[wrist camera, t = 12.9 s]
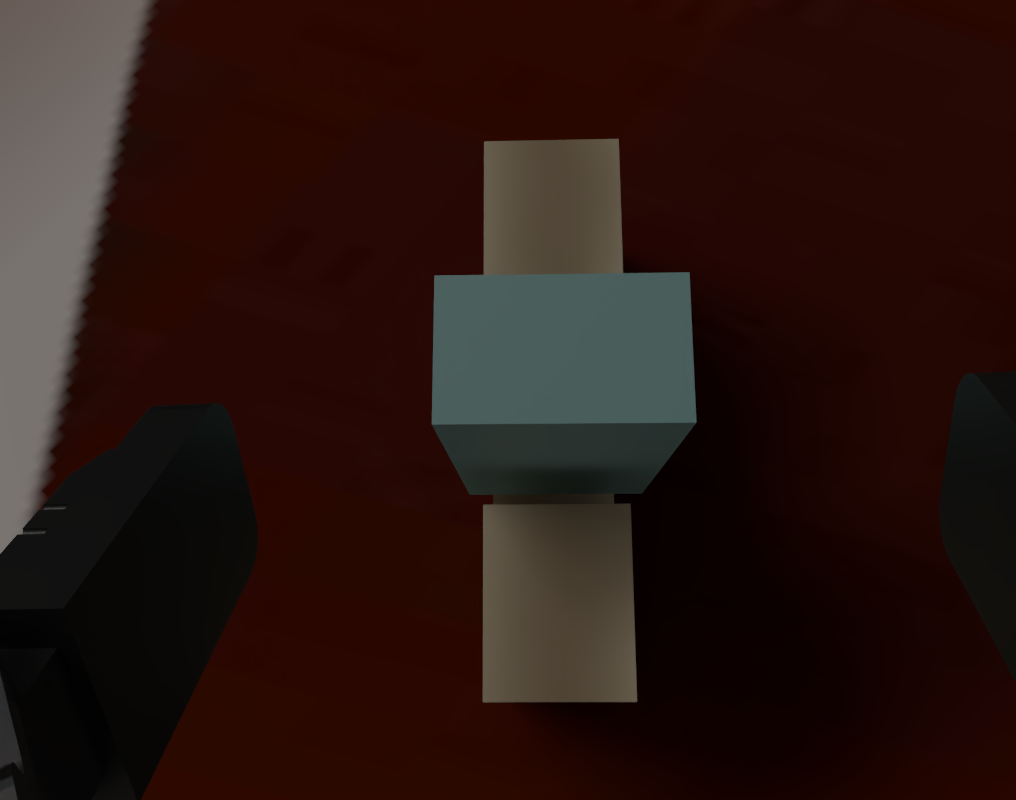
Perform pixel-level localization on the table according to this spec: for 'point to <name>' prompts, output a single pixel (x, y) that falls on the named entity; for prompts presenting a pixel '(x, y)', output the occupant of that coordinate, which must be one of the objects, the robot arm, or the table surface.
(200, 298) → the table surface
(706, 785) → the table surface
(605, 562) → the slot plate
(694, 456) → the table surface
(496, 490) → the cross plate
